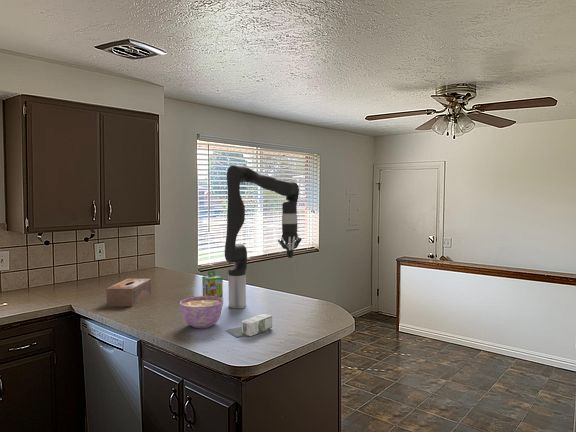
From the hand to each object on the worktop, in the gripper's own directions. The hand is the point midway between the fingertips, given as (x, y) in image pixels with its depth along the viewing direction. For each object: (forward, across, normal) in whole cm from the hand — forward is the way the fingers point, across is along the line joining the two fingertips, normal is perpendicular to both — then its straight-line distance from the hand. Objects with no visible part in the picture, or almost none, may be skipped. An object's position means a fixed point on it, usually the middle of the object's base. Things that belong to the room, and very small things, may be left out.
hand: (289, 257), depth 224 cm
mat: (+29, +28, +10) cm, 42 cm away
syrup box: (+26, +18, +11) cm, 33 cm away
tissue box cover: (+30, +61, -75) cm, 101 cm away
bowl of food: (+29, +43, -8) cm, 53 cm away
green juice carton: (+29, +18, -58) cm, 67 cm away
